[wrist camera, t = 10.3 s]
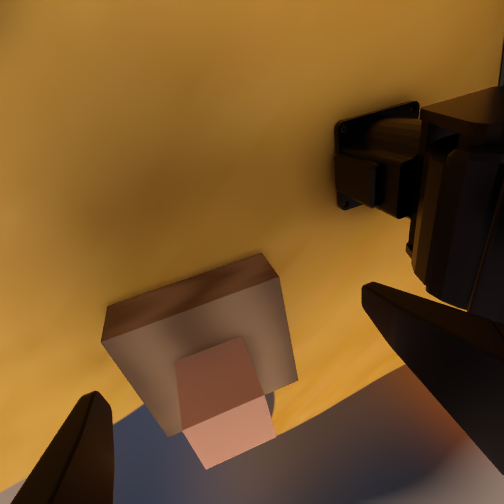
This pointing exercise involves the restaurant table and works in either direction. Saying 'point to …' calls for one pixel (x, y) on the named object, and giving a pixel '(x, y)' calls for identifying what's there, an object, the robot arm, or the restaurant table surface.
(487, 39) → the restaurant table surface
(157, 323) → the walnut block
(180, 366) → the terracotta cube
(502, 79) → the shoulder bag
